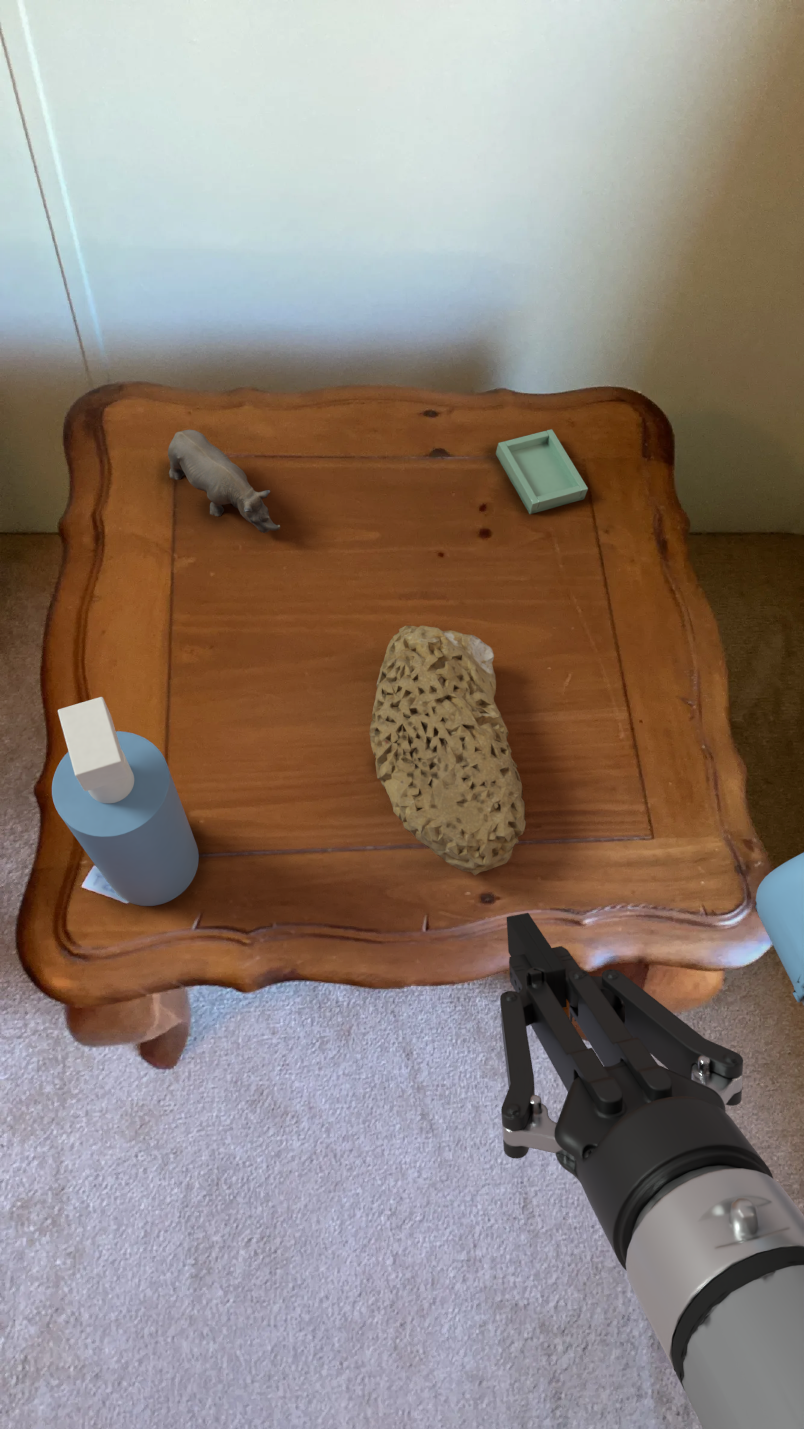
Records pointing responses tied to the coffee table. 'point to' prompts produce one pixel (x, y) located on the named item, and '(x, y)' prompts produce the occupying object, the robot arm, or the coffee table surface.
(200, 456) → the rhino figurine
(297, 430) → the coffee table surface
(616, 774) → the coffee table surface
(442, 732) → the sponge
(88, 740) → the spray bottle
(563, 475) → the soap dish
